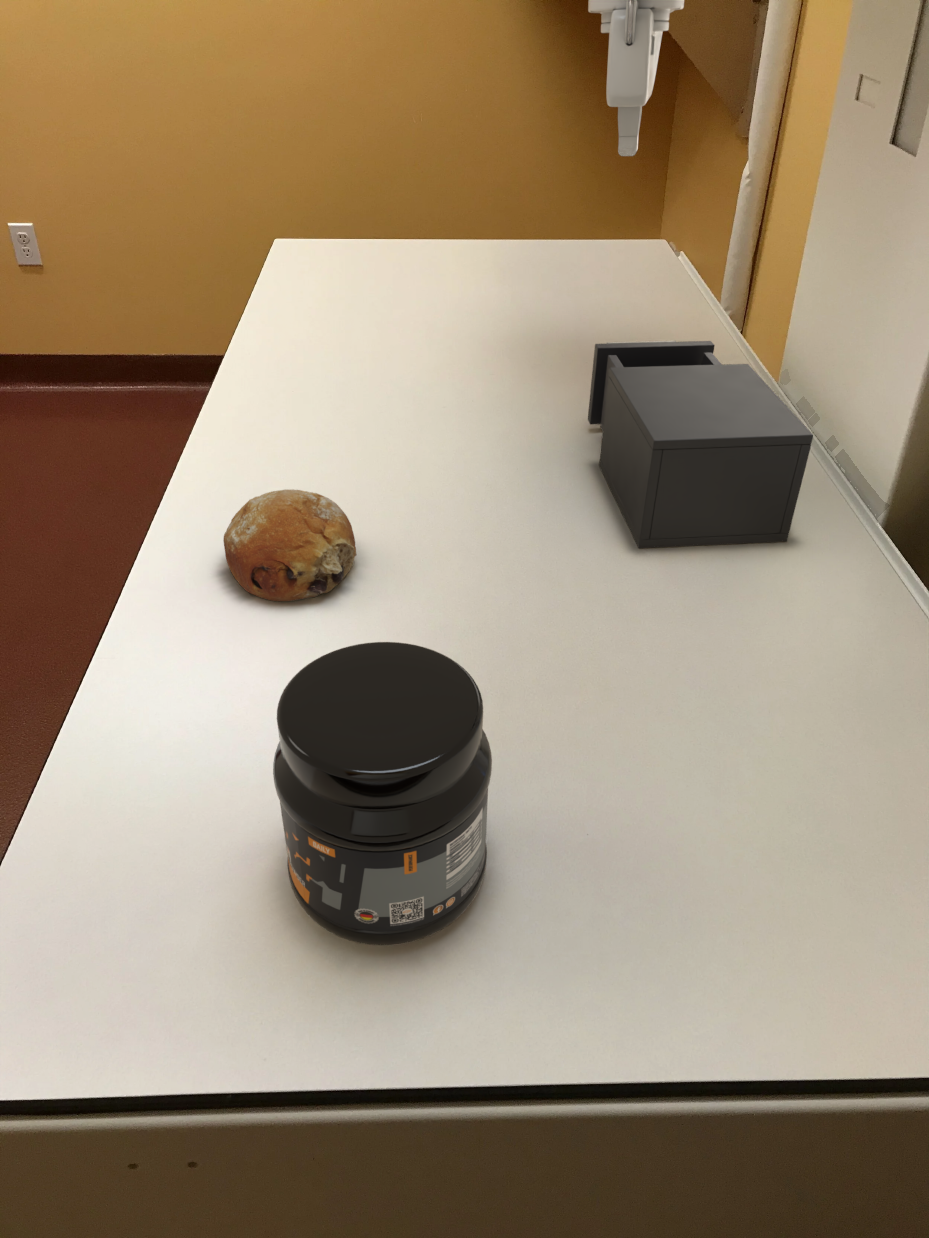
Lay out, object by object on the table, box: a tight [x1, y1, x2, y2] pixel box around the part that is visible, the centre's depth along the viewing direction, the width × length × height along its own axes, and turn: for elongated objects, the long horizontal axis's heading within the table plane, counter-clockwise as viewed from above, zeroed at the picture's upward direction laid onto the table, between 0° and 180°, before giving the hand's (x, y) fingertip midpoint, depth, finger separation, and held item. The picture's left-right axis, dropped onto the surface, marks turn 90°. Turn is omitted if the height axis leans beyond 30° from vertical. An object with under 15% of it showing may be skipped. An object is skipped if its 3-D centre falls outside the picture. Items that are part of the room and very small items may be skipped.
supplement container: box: [272, 641, 493, 946], centre depth 48 cm, size 10×10×12 cm
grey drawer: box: [587, 340, 723, 432], centre depth 90 cm, size 18×11×8 cm, turn 6°
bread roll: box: [223, 488, 357, 602], centre depth 74 cm, size 10×10×8 cm
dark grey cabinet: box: [598, 363, 814, 549], centre depth 82 cm, size 15×13×10 cm
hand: (627, 155), depth 96 cm, fingers closed
